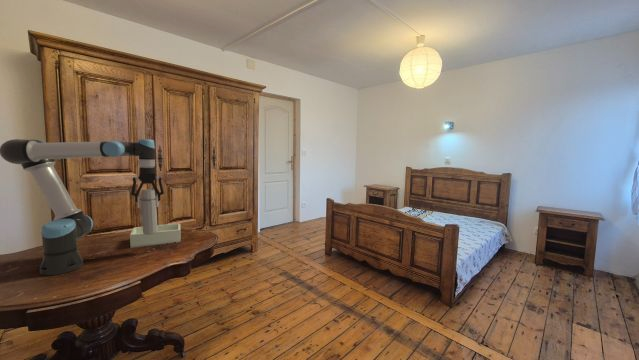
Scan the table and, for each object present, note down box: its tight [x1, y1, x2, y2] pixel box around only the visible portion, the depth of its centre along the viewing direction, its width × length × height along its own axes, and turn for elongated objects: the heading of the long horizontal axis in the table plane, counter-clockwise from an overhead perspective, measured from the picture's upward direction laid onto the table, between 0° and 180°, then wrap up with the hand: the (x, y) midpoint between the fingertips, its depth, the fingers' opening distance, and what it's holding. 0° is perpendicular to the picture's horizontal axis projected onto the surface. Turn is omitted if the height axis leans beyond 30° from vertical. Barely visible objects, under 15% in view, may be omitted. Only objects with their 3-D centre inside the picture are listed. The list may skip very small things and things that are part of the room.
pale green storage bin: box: [129, 222, 182, 249], centre depth 169 cm, size 26×16×8 cm, turn 118°
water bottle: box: [139, 188, 158, 235], centre depth 149 cm, size 9×8×25 cm
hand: (148, 206), depth 149 cm, fingers closed on water bottle, 8 cm apart
